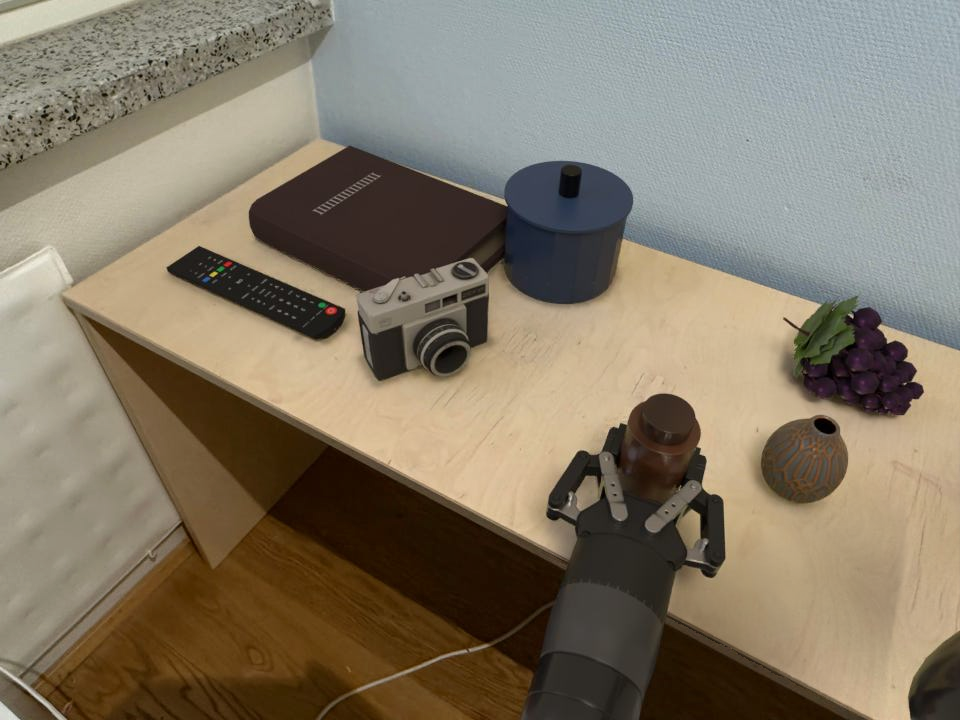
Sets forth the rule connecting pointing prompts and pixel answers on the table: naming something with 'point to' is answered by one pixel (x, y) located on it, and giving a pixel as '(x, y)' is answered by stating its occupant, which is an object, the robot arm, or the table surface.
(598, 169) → the pot lid
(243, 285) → the remote control
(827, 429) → the vase
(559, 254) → the pot
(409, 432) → the table surface
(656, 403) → the pepper mill
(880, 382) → the fruit
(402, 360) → the camera
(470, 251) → the brown slab
